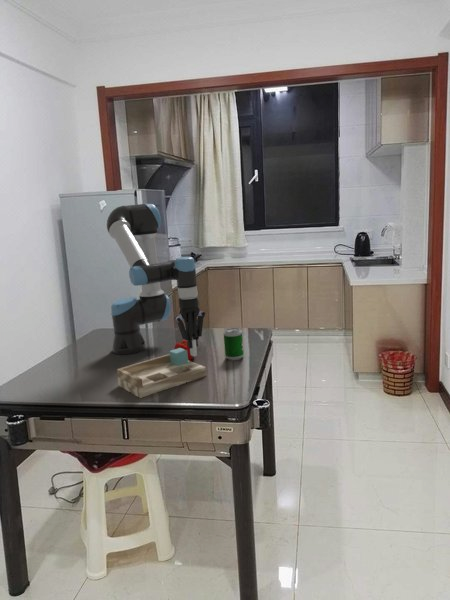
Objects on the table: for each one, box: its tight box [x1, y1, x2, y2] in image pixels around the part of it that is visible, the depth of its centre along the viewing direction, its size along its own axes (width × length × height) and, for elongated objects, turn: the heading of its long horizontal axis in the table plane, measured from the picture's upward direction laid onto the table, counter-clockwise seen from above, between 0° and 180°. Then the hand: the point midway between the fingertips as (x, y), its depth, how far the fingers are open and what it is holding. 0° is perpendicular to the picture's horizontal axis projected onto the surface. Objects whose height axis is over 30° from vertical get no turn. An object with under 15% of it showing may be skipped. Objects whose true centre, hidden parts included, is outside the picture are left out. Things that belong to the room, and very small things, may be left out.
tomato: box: [173, 339, 195, 361], centre depth 212 cm, size 9×9×8 cm
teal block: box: [169, 348, 188, 366], centre depth 197 cm, size 5×5×5 cm
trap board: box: [116, 353, 207, 399], centre depth 189 cm, size 17×28×6 cm, turn 127°
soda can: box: [223, 327, 244, 361], centre depth 208 cm, size 8×8×12 cm
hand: (193, 355), depth 201 cm, fingers closed
